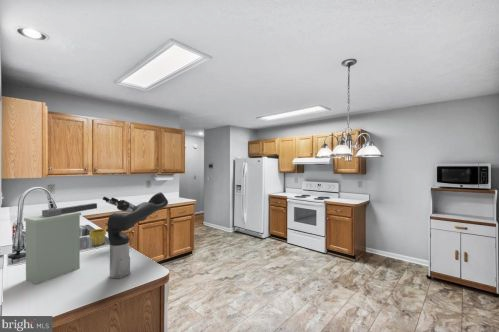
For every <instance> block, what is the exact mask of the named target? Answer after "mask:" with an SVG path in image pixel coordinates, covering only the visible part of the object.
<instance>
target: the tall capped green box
mask: <svg viewBox="0 0 499 332" xmlns="http://www.w3.org/2000/svg"><path fill="white" fill-rule="evenodd" d="M81 215H82V211H78V212H73V213H67V214H62V215H58V216H52V217H45V216H42V214H41V215H40V214H39V215H35V216H29V217H23V221H24V222H25V281H27V282H29V283H31V284H34V285H36V286H37V285H39V284H41V283H45V282H47V281H51V280H52V279H55V278H58V277H61V276H62V275H66V274H68V273H72V272H74V271H76V270H79V269H80V267H81V266H80V264H81V263H80V261H81V260H80V256H81V255H80V253H81V252H80V249H81V247H80V246H81V245H80V243H81V241H80V236H81V235H80V233H81V230H80V228H81V226H80V216H81Z"/></svg>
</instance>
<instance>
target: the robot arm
mask: <svg viewBox="0 0 499 332" xmlns="http://www.w3.org/2000/svg"><path fill="white" fill-rule="evenodd" d="M102 201H105V203H108V204H109V205H112V206H116V209H117V210H118V211H120V212H119V213H118V212H114V213H112V214H110V215H109V217H108V219H107V238H108V239H107V240H108V241H109V277H110V278H111V279H122V278H124V277H126V276H129V275H130V274H131V256H130V237H129V236H128V235H127V234H126V233H124V232H126V231H128V230H130V229H131V228H133V227H134V226H135V225H136V224H138V223H140V222H142V221H145V220H146V219H147V218H148V217H149V216H151V215H152V214H154V213H156V212H157V211H160V210H162V209H164V208H166V207H167V205H169V201H168V199H167V197H166V196H165V195H164V193H162V192H157V193H155V194H154V195H152V197H150V199H149V200H148V201H144V202H141V203H139V204H137V205H134V204H133V203H131V202H129V201H127V200H125V199H118V198H116V197H115V198H114V197H111V198H109V197H107V196H103V197H102ZM121 212H122V213H121Z"/></svg>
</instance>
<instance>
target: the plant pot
mask: <svg viewBox="0 0 499 332" xmlns="http://www.w3.org/2000/svg"><path fill="white" fill-rule="evenodd" d="M106 235H107V230H106V229H105V228H98V229H92V230H91V231H89V238H90V239H91V243H92V246H100V245H101V246H102V244H104V243H105V237H106Z"/></svg>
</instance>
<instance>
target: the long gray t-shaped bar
mask: <svg viewBox="0 0 499 332" xmlns="http://www.w3.org/2000/svg"><path fill="white" fill-rule="evenodd" d="M97 208H98V203H96V202H94V203H86V204H78V205H72V206H65V207H58V208H55V207H54V208H50V209H42V210H41V215H42V216H45V217H52V216H58V215H62V214H67V213H73V212H83V211H89V210H95V209H97Z"/></svg>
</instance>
